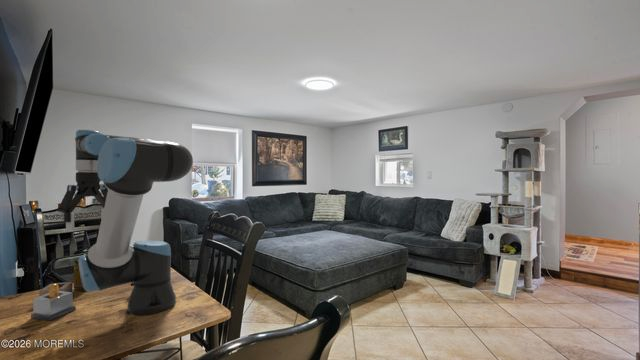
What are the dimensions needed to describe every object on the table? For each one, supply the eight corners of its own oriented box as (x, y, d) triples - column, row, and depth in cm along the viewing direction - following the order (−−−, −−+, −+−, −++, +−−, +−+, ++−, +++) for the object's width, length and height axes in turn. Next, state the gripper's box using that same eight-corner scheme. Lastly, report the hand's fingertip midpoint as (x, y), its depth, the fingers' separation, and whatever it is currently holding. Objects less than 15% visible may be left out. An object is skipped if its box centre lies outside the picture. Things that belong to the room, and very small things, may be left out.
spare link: (72, 294, 115) (72, 281, 115) (63, 302, 108) (63, 288, 108) (50, 296, 113) (50, 283, 113) (39, 304, 106) (39, 290, 106)
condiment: (79, 285, 124) (79, 257, 124) (101, 284, 126) (101, 256, 125) (67, 292, 117) (67, 262, 117) (91, 291, 118) (91, 261, 118)
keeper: (75, 309, 103) (75, 280, 102) (50, 320, 95) (50, 289, 95) (57, 307, 104) (57, 278, 104) (30, 318, 97) (30, 287, 96)
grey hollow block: (72, 306, 102) (72, 292, 102) (50, 316, 96) (50, 300, 95) (56, 304, 104) (56, 290, 104) (33, 313, 97) (33, 298, 97)
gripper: (109, 171, 124) (109, 222, 125) (43, 171, 100) (44, 233, 100) (125, 172, 123) (124, 222, 123) (61, 171, 98) (61, 235, 99)
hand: (88, 227), depth 112 cm, fingers open, 13 cm apart
